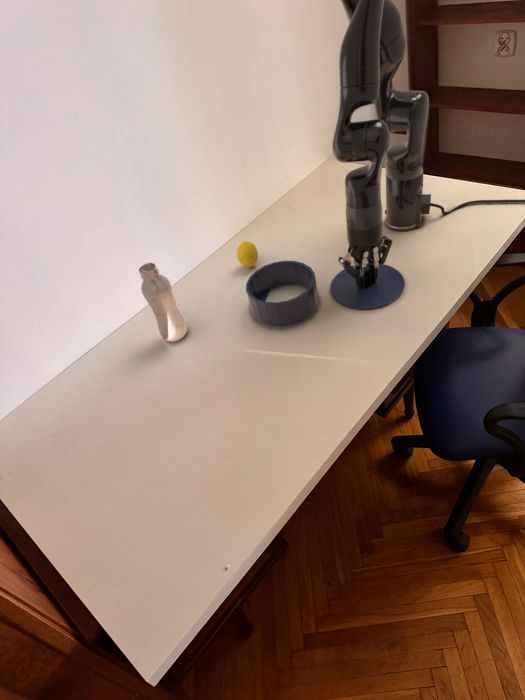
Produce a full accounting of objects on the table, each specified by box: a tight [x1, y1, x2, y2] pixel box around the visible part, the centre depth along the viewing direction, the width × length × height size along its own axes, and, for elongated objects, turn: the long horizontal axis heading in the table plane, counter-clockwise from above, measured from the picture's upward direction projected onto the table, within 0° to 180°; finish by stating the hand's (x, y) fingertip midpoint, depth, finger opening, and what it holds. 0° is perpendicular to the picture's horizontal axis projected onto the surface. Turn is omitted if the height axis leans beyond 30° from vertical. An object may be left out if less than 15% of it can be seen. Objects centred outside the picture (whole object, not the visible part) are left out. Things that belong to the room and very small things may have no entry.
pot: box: [245, 260, 320, 328], centre depth 112 cm, size 16×16×7 cm
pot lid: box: [330, 262, 406, 311], centre depth 111 cm, size 17×17×6 cm
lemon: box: [236, 240, 259, 268], centre depth 126 cm, size 6×6×8 cm
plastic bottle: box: [138, 262, 188, 342], centre depth 107 cm, size 6×7×20 cm
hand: (367, 283), depth 112 cm, fingers closed on pot lid, 2 cm apart
